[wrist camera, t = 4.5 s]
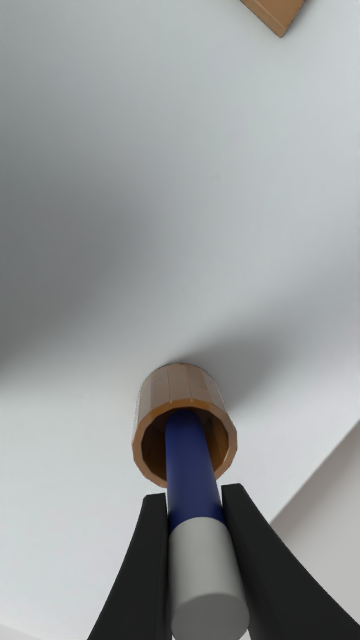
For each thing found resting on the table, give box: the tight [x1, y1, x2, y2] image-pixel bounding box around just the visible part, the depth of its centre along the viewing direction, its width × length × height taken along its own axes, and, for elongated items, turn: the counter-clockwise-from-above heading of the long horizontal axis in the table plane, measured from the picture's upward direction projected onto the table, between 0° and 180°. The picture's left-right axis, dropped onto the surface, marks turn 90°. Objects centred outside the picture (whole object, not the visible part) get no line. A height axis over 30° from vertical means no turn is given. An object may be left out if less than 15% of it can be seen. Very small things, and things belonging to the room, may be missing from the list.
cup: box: [132, 363, 237, 488], centre depth 15 cm, size 5×5×4 cm
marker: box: [165, 409, 250, 640], centre depth 11 cm, size 2×2×8 cm
